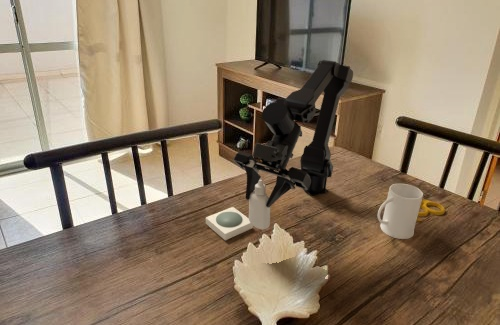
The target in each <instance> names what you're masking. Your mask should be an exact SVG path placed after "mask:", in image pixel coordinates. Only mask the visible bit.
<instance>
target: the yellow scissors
mask: <svg viewBox="0 0 500 325" xmlns="http://www.w3.org/2000/svg"><path fill="white" fill-rule="evenodd" d="M428 206H432V207H436V208H439V209H440V210H435V209H432V208H430V207H428ZM420 209H422V210H423V211H422V212H421V211H419V212H418V216H417V220H416V222H422V219H421V217H423V218H424V217H426V216H428V215H429V214H430V215H435V216H442V215H445V212H446V209H445V207H444V206H443V205H442V204H440V203H438V202H434V201H431V200H428V199H424V198H422V201H421V205H420ZM419 217H420V218H419Z"/></svg>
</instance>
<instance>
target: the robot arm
mask: <svg viewBox="0 0 500 325" xmlns="http://www.w3.org/2000/svg"><path fill="white" fill-rule="evenodd" d="M353 77H354V70H352V69H351V67H350V66H349V65H343V64H340V63H339V62H337V61H334V60H325V59H323V60H319V61H318V64H317V67H316V69H314V71H313V72H312V74H311V75H310V76H309V78H308V79H307V80H306V82H305V83H304V84H303V85H302V87H301V88H300V89H297V90H294V91H292V92H290V94H289V95H287V97H285V98H282V97H277V98H276V100H275V101H273V102H270V103H269V104H268V105H266V106H265V107H264V108H263V109H262V113H261V118H262V119H263V122H264V123H265V124H266V126H267V127H268V128H269V130H270V131H271V132H272V133H273V136H272V139H271V140H270V139H268V141H267V142H266V144H263V143H259V142H255V144H254V148H253V152H252V154H249V153H246V152H242V151H239V152H237V153H235V154H234V157H233V159H232V161H233V162H234V163H235V164H236V165H237V166H238V167H239V168H240V169H242V170H245V173H246V186H245V187H246V188H245V200H247V201H249V198H250V194H251V193H252V192H254V191H255V185H256V184H257V183H258V182H259V180H261V178H262V176H261V175H260V174H259V172H260V171H262V172H265V173H267V174H271V175H275V176H276V180H275V185H274V187H273V189H272V191H271V193H270V196H268V197H269V199H268V202H267V204H266V207H268V208H269V207H270V208H271V207H272V205H273V204H274V203H275V202H277V201H278V200H280V198H281V197H282V196H283V195H285V194H286V193H287V192H289V191H290V190H295V189H296V187H297V188H300V189H303V190H304V191H305V192H306V193H307V194H308V195H309V196H311V197H312V196H318V195H323V194H327V193H329V190H328V189H327V188H326V187H327V182H328V178H332V176H333V172H334V165H333V163H332V161H331V156H332V154H331V150H330V146H329V141H330V137H331V134H332V129H333V126H334V122H335V119H336V118H335V117H336V114H337V110H338V107H339V102H340V99H341V96H343V94H344V93H346V91H347V90H348V89H349V86H350V84H351V83H352V81H353ZM322 94H323V98H322V101H321V104H320V105H321V106H320V109H319V114H318V117H317V120H316V126H315V129H314V134H313V137H312V141H311V142H310V143H309V144H308V145H305V146H304V148H303V153H302V154H301V157H300V161H299V162H300V168H297V167H293V166H291V167H290V168H288V169H287V165H288V163H289V161H290V159H293V157H294V153H293V151H294V149H295V146H296V145H297V142H298V140H299V139H300V137H303V131H302V127H301V125H299V124H298V122H299V123H304V124H308V123H310V121H311V120H312V119H314V116H315V115H316V111H317V110H316V103H317V100H318V99H319V97H320V96H321V95H322ZM256 158H258V160H259V161H258V160H256Z"/></svg>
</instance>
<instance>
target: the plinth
mask: <svg viewBox="0 0 500 325" xmlns="http://www.w3.org/2000/svg"><path fill="white" fill-rule="evenodd" d="M205 225H206V226H207V227H209V228H210V229H211V230H212V231H213V232H215V234H217V235H218V236H219V237H220V238H221V239H222V240H224V241H228V240H229V239H231V238H235V237H236V236H238V235H240V234H243V233H245V232H247V231H250V230H251V229H253V228H254V226H253V225H252V224H251V223H250V221H249V217H247V216H246V215H245V214H243V213H242V212H241V211H239V210H238V209H237V208H235V207H234V206H231V207H229V208H226V209H224V210H222V211H219V212H216V213H214V214H211V215H209V216H206V217H205Z"/></svg>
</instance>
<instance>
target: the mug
mask: <svg viewBox="0 0 500 325" xmlns="http://www.w3.org/2000/svg"><path fill="white" fill-rule="evenodd" d="M423 197H424V193H423V191H422V190H421V189H419V188H418V187H417V186H415V185H411V184H407V183H393V184H391V185H390V186H389V189H388V194H387V197H386V200H385V201H384V202H382V203H381V204H380V207H379V209H378V211H377V220H378V221H379V222H380V229H381V231H382V232H383V234H386V235H387V236H389V237H391V238H394V239H399V240H408V239H411V238H413V236H414V234H415V227H416V222H417V221H416V220H417V216H418V212H420V209H421V208H420V205H421V201H422V199H423ZM383 209H384V211H383ZM382 211H383V216H382V217H381V213H382ZM418 217H419V216H418ZM381 218H382V219H381Z"/></svg>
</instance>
